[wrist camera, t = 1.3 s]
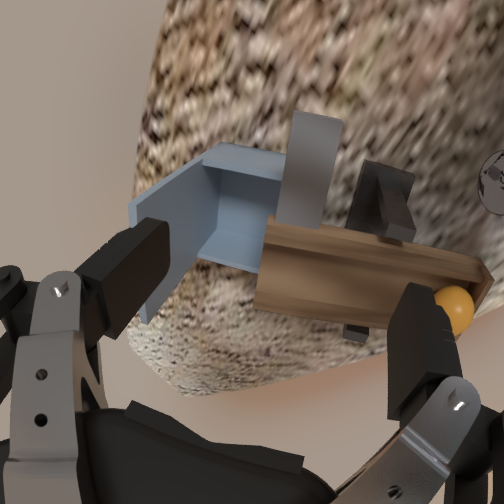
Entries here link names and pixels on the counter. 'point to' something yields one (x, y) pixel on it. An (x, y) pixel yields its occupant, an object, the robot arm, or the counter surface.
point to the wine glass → (492, 183)
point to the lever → (342, 247)
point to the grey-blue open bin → (212, 211)
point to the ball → (456, 307)
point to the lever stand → (380, 214)
